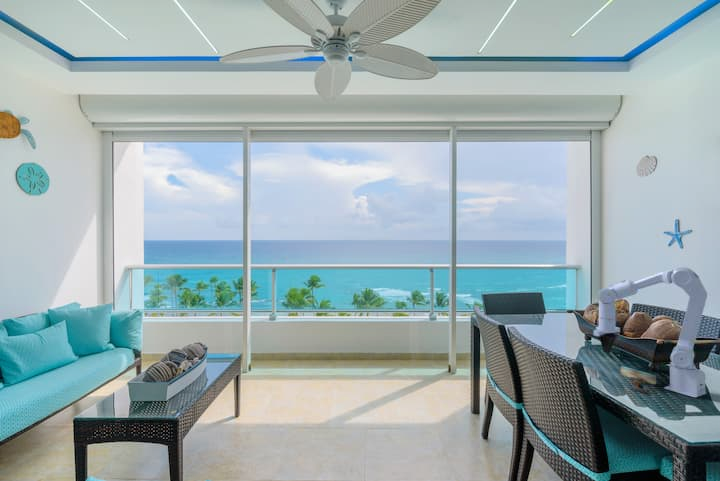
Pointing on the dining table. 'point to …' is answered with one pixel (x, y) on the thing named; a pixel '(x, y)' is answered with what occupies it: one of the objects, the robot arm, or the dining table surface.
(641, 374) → the stop rail
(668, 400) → the dining table surface
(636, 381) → the seahorse
